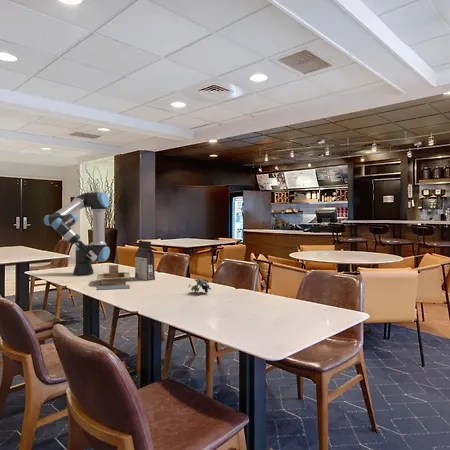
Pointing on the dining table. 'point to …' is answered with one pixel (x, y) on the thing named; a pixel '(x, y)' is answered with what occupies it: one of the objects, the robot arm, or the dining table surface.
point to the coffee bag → (144, 262)
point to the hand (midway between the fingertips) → (95, 259)
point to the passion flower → (201, 283)
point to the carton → (113, 279)
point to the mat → (113, 287)
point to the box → (113, 271)
